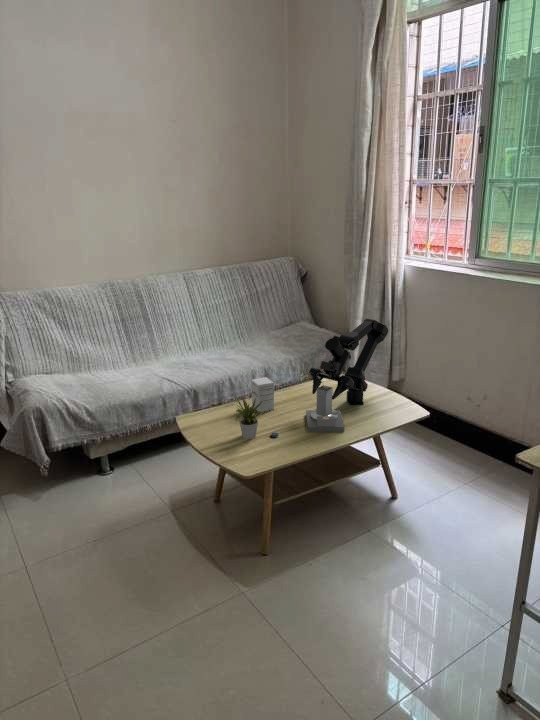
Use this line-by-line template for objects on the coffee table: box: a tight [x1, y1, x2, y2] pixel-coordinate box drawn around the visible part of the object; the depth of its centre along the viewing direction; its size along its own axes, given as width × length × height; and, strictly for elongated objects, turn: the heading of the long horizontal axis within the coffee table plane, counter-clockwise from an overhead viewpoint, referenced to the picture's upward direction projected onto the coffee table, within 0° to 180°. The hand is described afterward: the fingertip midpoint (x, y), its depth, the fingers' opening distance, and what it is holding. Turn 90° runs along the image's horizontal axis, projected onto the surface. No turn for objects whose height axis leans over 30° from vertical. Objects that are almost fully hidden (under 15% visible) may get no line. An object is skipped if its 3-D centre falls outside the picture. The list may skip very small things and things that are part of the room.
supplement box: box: [251, 376, 275, 413], centre depth 236 cm, size 7×7×13 cm
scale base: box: [305, 409, 345, 433], centre depth 223 cm, size 14×16×5 cm
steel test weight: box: [315, 384, 334, 416], centre depth 223 cm, size 4×4×11 cm
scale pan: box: [311, 408, 338, 421], centre depth 225 cm, size 11×11×1 cm
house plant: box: [230, 396, 265, 440], centre depth 211 cm, size 14×14×16 cm
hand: (322, 396), depth 221 cm, fingers open, 9 cm apart
